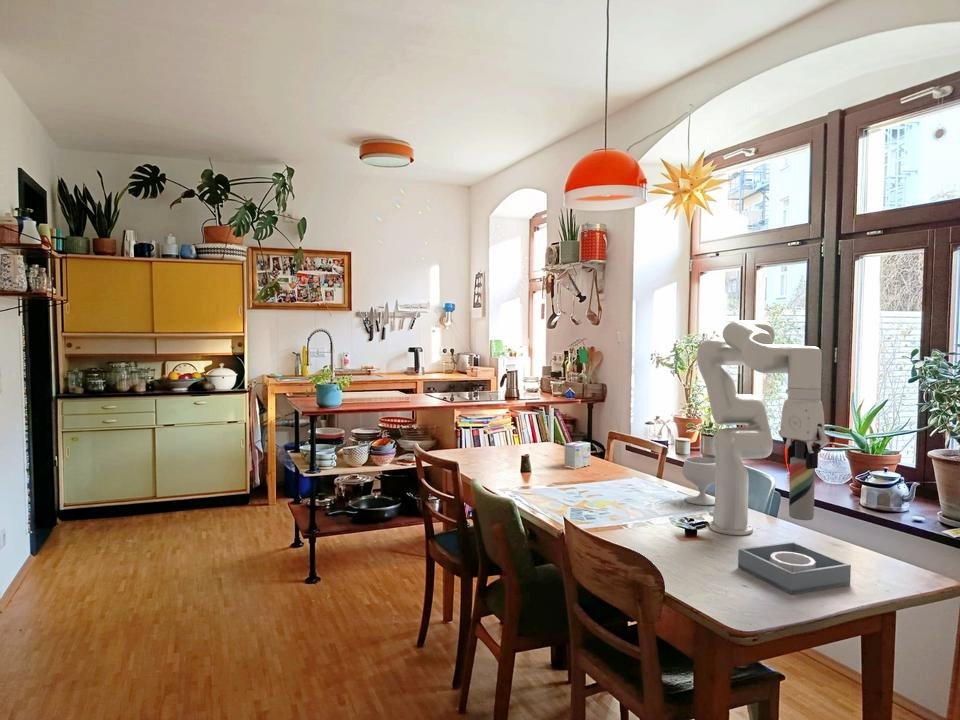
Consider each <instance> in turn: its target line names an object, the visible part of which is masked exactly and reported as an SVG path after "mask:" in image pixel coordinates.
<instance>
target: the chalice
mask: <svg viewBox="0 0 960 720" xmlns="http://www.w3.org/2000/svg"><path fill="white" fill-rule="evenodd" d="M682 465H683V466H682V475H683V477H684V479H685V480H687V481H689V482H690V483H692V484H694V486H696V487H697V489H698V491H699V494H698V495H689V496H686V497H685V498H684V500H685V502H687V503H690V504H694V505H700V506H715V497H712V496H707V494H706V491H707V489H708V488H709V487H711V486H713V485H715V480H716V465H715V458H713V457H707V456H705V457H704V456H693V457H687V458H686V459H685V460H684V463H683V464H682Z"/></svg>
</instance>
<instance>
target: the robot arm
mask: <svg viewBox="0 0 960 720" xmlns="http://www.w3.org/2000/svg"><path fill="white" fill-rule="evenodd" d="M775 334H776V333H775V330H774V327H773V326H772V324H770V323H769V322H767V321H765V320H735V321H732V322H730V323H728V324H727V325H726V326H725V327H724V329H723V331H722V338H712V339H707V340H704V341H702V342H701V343H700V344H699V346H698V348H697V352H696V361H697V368H698V370H699V372H700V375H701V376H702V379H703V382H704V384H705V387H706V393H707V396H708V401H709V407H710V412H711V415H712V419H713V420H714V422H715V423H716V424H719V425H724V426H744V425H745V426H746V427H725V428H724V427H723V428H721V429H718V430H717V431H716V432H715V433H714V434H713V437H712V445H713V446H712V448H713V452H714V453H713V454H714V459H715V465H716V480H715V484H714V489H715V490H714V491H715V492H714V498H715V505H714V508H713V509H712V511H709V513H708V515H709V516H711V517H712V521H710V522H709V523H710V527H709V528H710V529H711V530H712V531H714V532H715V533H716V532H717V533H718V534H719V533H720V534H724V535H730V536H746V535H750V534H752V533H753V532H754V528H753V526H752V525H751V524H749V523H748V522H749V521H748V520H749V519H748V518H749V517H748V515H749V472H748V469H747V467H746V466H745V464H743V462H742V460H745V459H746V460H747V459H750V460H751V459H765V458H768V457H769V456H771V454H772V452H773V449H774V447H773V446H774V444H773V443H774V441H773V437H772V431H771V427H770V423H769V420H768V416H767V410H766V407H765V404H764V402H763V401H762V400H761V398H760V397H758V396H757V395H754V394H739V393H738V392H737V389H736V385H735V384H736V383H735V381H734V379H733V377H732V376H731V374H730V373H729V372H728V371H726V370H725V369H724V368H723V366H747V367H748V368H750V369H751V370H753V371H756V372H758V373H762V374H787V389H786V390H785V393H786V394H787V397H786V398H785V399H784V402H783V406H782V410H781V420H780V430H778V435H779V436H780V438H781V439H782V441H783V443H784V444H785V445H784V446H785V448H786V449H787V451H786V455H787V457H786V463H787V464H788V465H790V458H792V457H795V456H794V455H795V441H796V440H800V441H806V443H807V447H808V451H809V453H807V454H806V468H807V469H815V470H816V469H818V467H819V466H818V465H819V453H820V454H821V451H822V450H823V448H824V447H826V446H827V445H828V444H829V443H830V439H829V437H828V436H827V434H826V433H825V430H826V429H825V428H826V427H825V414H824V406H823V402H822V401H821V393H822V392H821V391H822V389H821V388H822V387H821V385H822V354H823V353H822V350H821V348H819V347H817V346H809V345H800V344H774V341H775V338H776V335H775Z"/></svg>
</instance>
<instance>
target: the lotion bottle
mask: <svg viewBox="0 0 960 720" xmlns="http://www.w3.org/2000/svg"><path fill="white" fill-rule="evenodd" d="M807 453H809V451H808V447H807V443H806V441H800V440H796V441H795V455H794V456H795V457H792V458H790V464H789V492H788V495H789V496H788V516H789V517H790V518H792V519H793V520H794V519H795V520H799V521H812V520H813V519H814V517H815V516H814V513H815V486H816V485H815V481H816V479H815V478H816V468H815V469H807V468H806V454H807Z"/></svg>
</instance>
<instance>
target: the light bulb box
mask: <svg viewBox="0 0 960 720" xmlns="http://www.w3.org/2000/svg"><path fill="white" fill-rule="evenodd" d="M563 448H564V449H563V450H564V465H566V466H570V467H574V468H575V467H581V466H587V465H590V466H591V442H587V441H581V440H579V441H573V442H567V443H564V447H563Z"/></svg>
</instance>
